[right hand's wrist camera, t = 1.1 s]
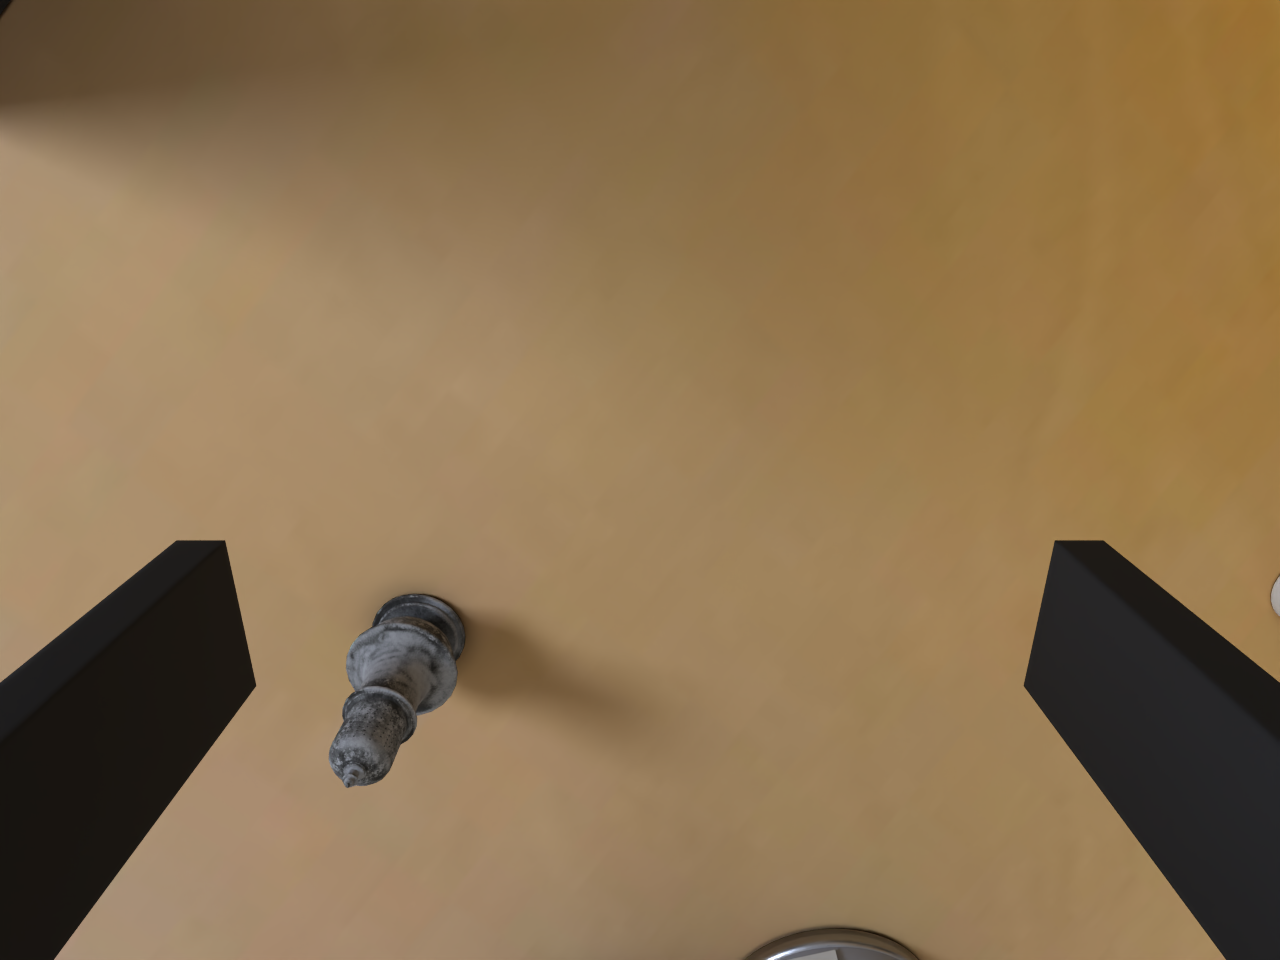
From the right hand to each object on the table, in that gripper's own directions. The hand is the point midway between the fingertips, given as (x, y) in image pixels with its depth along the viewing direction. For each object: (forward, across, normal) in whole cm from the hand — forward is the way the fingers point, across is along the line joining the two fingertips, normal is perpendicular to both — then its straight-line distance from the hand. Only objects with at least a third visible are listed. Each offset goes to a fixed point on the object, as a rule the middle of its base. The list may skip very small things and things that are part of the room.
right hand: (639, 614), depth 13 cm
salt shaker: (+28, +13, +18) cm, 36 cm away
